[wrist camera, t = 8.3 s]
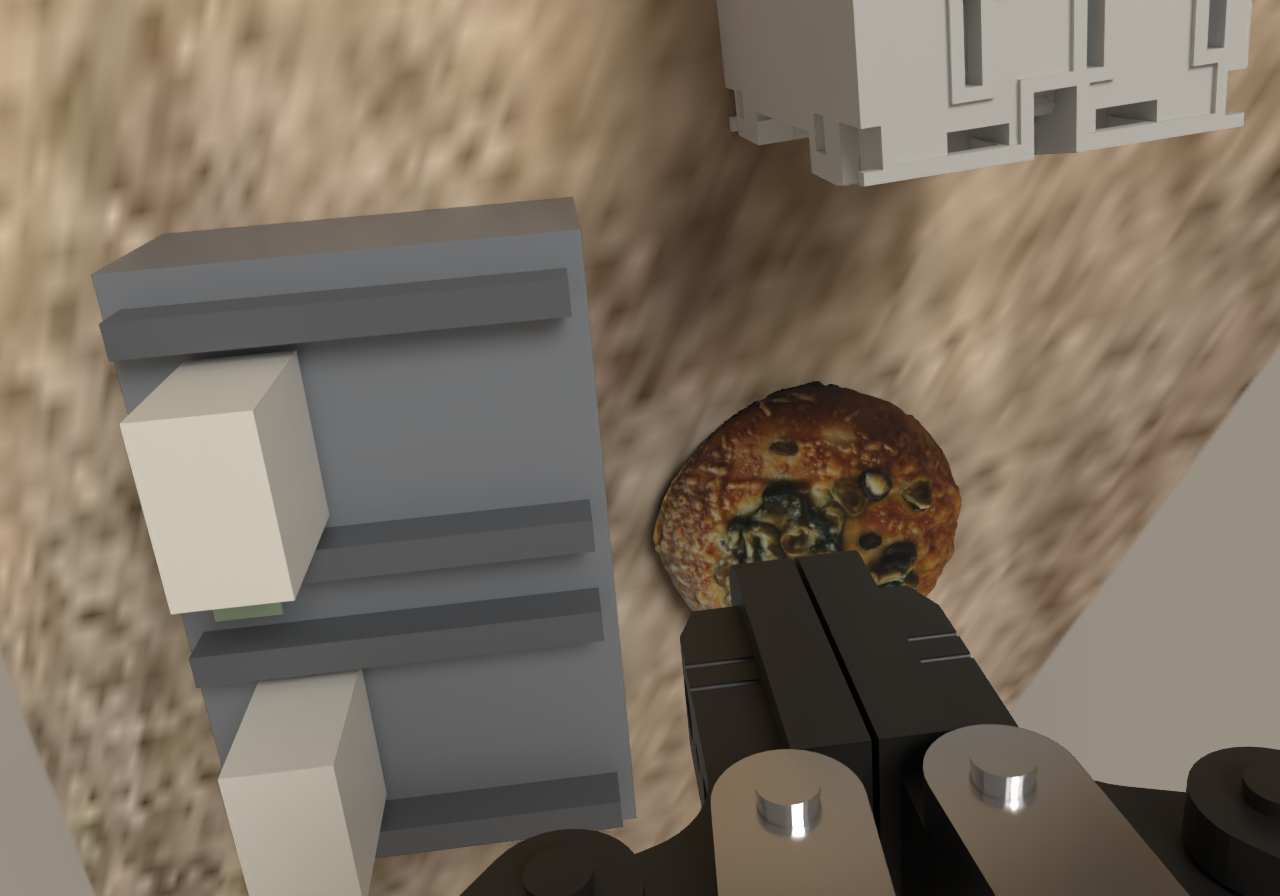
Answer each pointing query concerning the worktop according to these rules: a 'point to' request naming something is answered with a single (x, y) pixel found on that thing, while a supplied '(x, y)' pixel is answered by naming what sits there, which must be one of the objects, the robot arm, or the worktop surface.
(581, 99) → the worktop surface
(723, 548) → the bread roll
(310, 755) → the breaker
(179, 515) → the block
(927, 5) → the circuit breaker
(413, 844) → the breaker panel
